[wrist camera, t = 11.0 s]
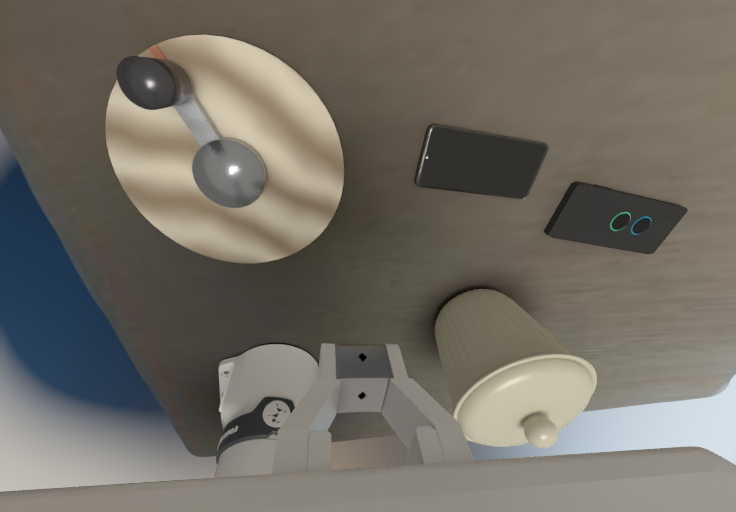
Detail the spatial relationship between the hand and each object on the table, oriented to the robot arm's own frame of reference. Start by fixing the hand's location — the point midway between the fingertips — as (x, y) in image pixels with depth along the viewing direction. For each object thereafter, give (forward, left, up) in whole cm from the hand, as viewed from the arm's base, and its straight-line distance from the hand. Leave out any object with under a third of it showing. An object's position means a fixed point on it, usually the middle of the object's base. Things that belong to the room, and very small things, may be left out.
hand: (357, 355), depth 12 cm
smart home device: (+8, -41, -29) cm, 50 cm away
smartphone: (+7, -17, -28) cm, 34 cm away
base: (-4, +10, -28) cm, 30 cm away
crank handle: (-1, +13, -26) cm, 29 cm away
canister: (-15, -30, -28) cm, 43 cm away
